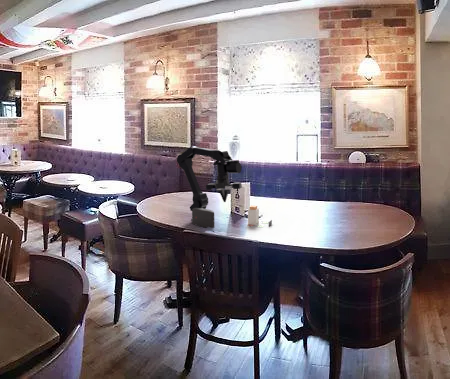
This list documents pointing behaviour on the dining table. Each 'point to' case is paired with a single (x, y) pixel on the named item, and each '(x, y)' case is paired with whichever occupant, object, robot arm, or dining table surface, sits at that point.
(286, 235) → the dining table surface
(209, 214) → the leaning round-cornered charcoal block
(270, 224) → the switch board
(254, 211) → the white bottle
